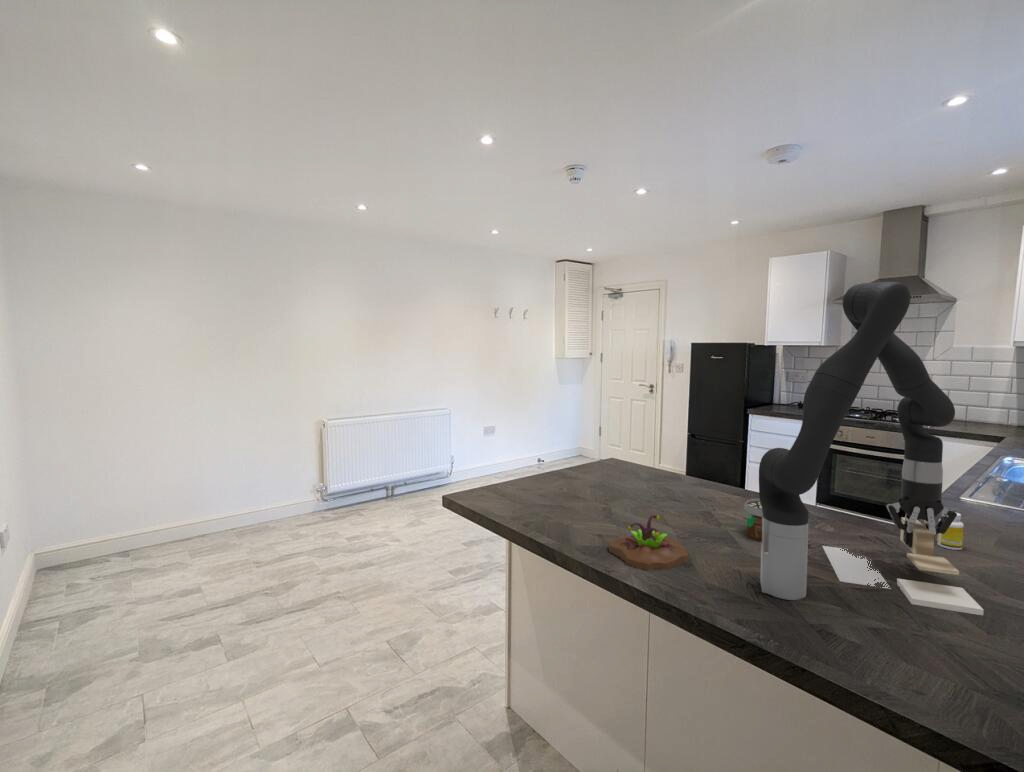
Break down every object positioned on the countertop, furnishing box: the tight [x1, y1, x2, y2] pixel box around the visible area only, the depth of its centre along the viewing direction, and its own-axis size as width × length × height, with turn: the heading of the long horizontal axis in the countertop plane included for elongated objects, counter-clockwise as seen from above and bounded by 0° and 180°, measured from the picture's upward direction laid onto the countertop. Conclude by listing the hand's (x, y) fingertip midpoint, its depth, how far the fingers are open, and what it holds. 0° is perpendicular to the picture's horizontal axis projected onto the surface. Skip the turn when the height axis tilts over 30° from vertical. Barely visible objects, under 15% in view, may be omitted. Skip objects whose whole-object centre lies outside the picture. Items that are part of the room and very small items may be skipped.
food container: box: [743, 498, 763, 542], centre depth 147 cm, size 12×6×10 cm, turn 141°
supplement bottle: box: [936, 511, 965, 551], centre depth 137 cm, size 5×5×10 cm
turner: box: [899, 516, 960, 576], centre depth 116 cm, size 20×7×6 cm, turn 157°
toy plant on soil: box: [608, 514, 690, 571], centre depth 135 cm, size 20×20×11 cm
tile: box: [896, 578, 985, 616], centre depth 108 cm, size 12×2×10 cm
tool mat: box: [821, 545, 892, 590], centre depth 125 cm, size 10×23×1 cm, turn 157°
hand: (918, 547), depth 119 cm, fingers closed on turner, 3 cm apart
